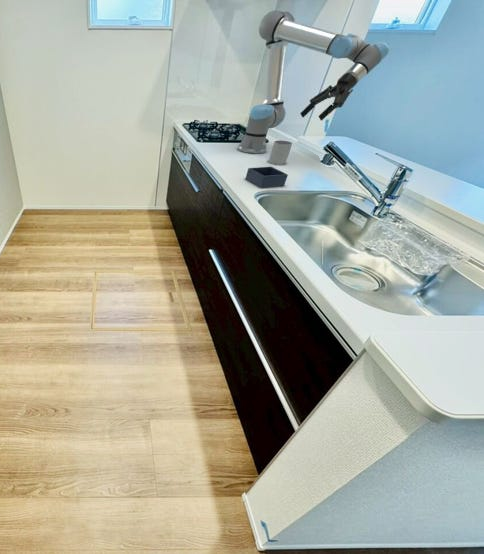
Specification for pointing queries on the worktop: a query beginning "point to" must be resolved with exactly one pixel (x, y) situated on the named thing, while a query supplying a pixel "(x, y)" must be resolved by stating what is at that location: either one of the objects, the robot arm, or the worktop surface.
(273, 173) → the dark navy open box
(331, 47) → the robot arm
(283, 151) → the cup
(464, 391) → the worktop surface
